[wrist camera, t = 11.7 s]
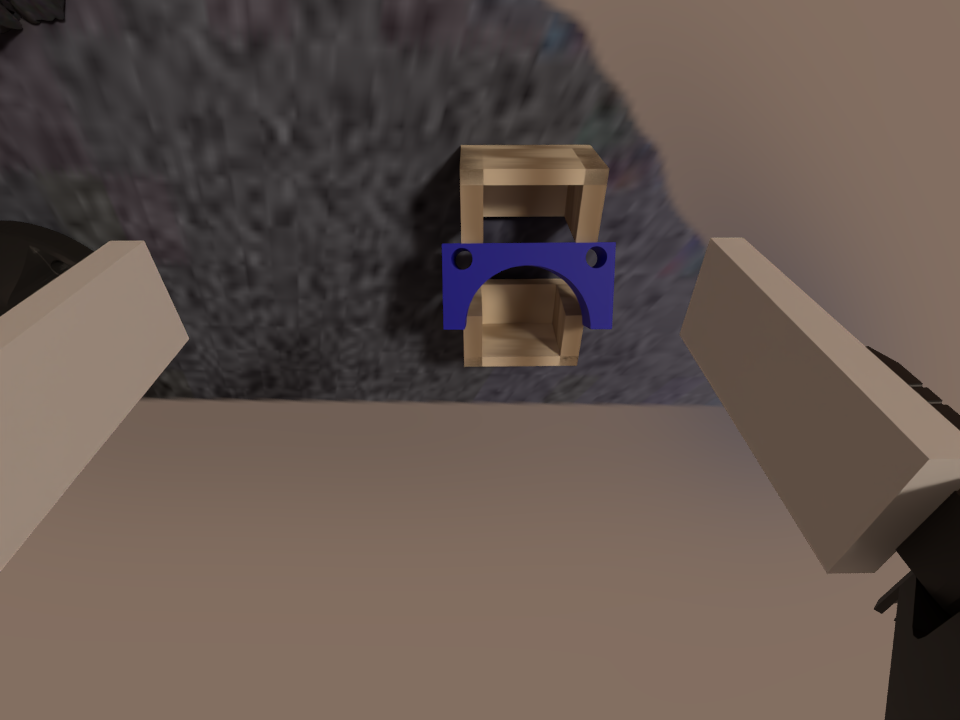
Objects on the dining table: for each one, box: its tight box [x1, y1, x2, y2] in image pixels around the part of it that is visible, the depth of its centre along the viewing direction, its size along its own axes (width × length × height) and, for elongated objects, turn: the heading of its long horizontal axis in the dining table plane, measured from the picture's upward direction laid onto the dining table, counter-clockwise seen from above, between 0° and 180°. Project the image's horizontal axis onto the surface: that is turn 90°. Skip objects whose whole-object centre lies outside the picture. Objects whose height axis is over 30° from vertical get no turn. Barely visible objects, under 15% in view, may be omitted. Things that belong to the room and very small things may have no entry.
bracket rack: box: [460, 145, 609, 367], centre depth 37 cm, size 10×16×6 cm, turn 0°
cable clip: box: [442, 242, 616, 330], centre depth 35 cm, size 12×4×6 cm
